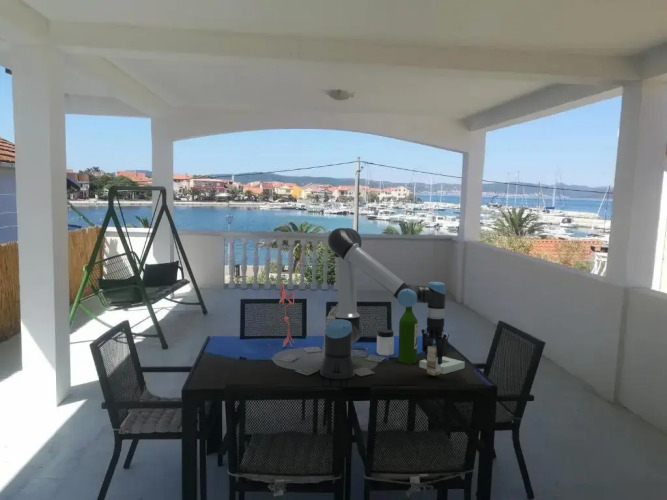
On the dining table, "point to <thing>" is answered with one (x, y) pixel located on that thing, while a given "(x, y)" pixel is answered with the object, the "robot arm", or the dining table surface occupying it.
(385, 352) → the jar
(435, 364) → the robot arm
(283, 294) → the figurine
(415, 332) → the wine bottle
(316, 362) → the dining table surface
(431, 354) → the peg
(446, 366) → the plinth
